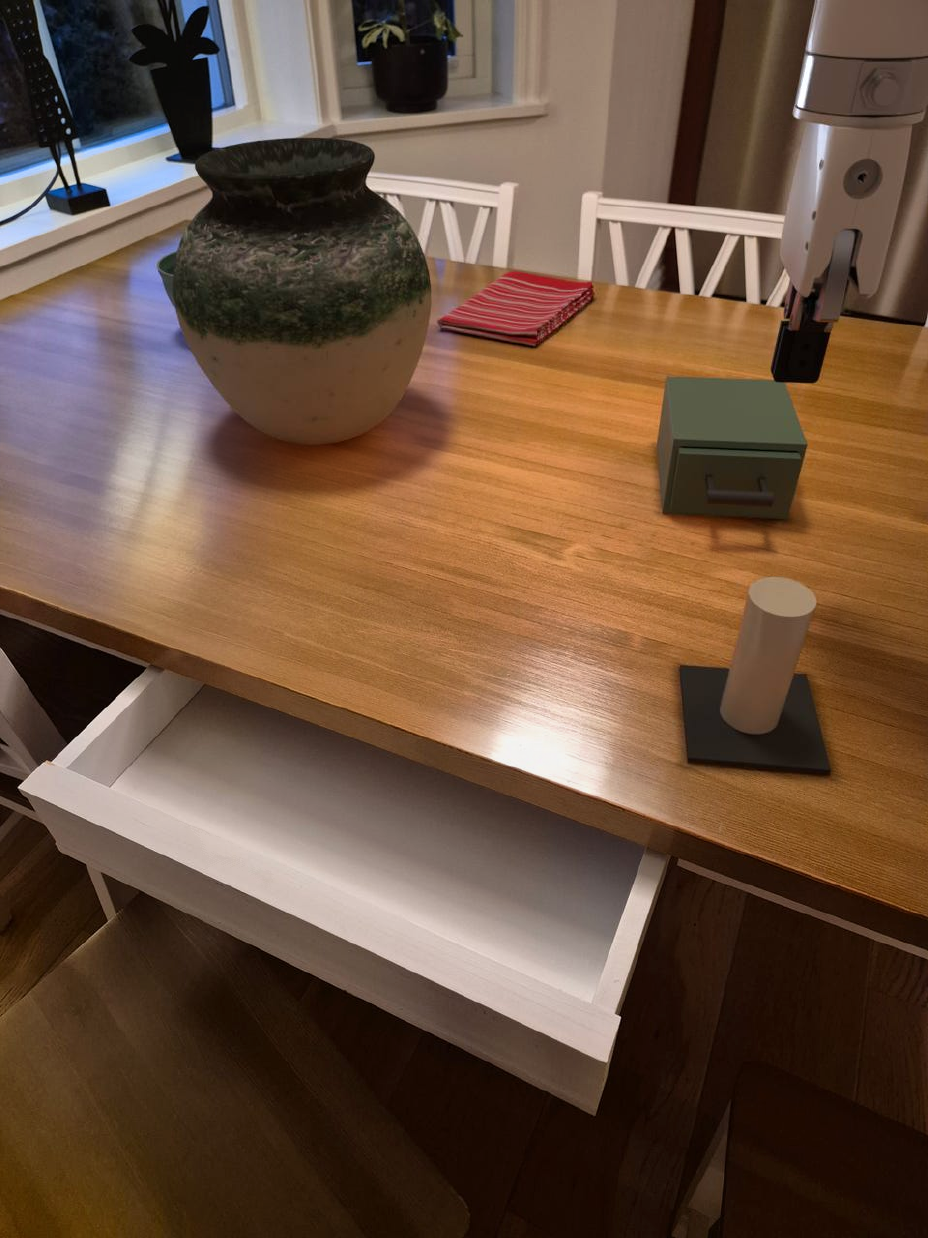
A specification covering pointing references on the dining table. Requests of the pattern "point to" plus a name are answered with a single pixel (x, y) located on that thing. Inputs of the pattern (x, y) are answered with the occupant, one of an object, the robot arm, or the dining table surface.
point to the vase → (302, 289)
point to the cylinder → (766, 653)
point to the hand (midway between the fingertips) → (793, 377)
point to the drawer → (733, 481)
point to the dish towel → (519, 308)
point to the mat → (721, 744)
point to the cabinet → (725, 422)
